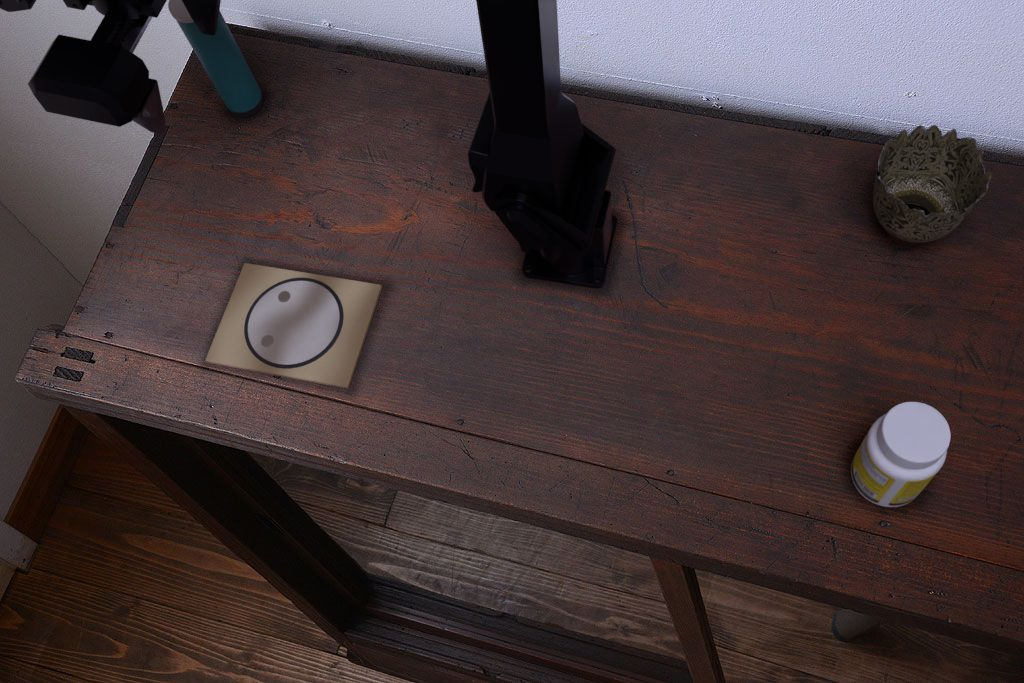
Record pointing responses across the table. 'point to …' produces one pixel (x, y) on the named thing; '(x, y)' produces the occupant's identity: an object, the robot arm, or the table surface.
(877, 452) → the supplement bottle
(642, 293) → the table surface
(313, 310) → the sketch board
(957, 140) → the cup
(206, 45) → the paint dauber
